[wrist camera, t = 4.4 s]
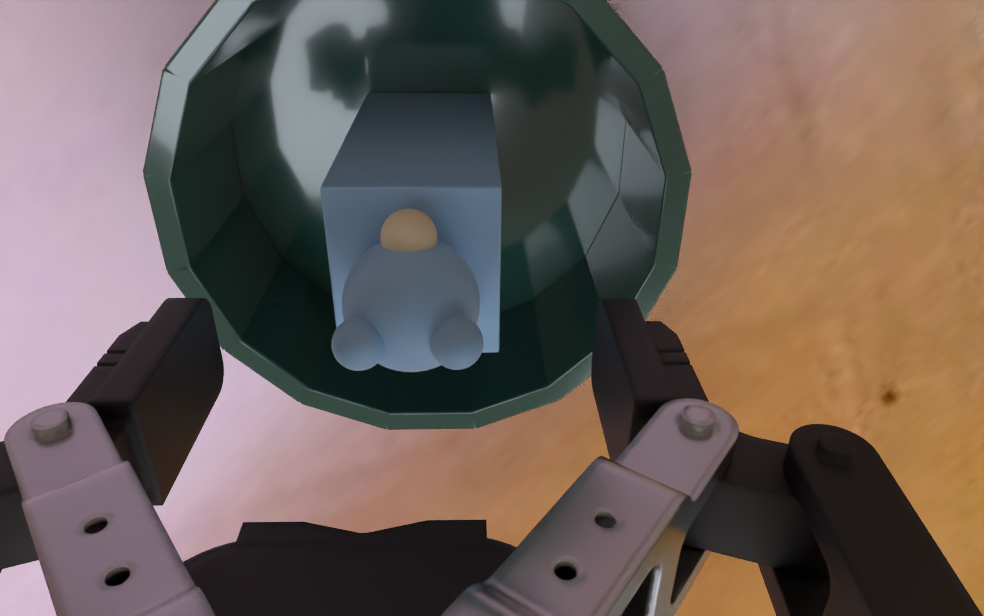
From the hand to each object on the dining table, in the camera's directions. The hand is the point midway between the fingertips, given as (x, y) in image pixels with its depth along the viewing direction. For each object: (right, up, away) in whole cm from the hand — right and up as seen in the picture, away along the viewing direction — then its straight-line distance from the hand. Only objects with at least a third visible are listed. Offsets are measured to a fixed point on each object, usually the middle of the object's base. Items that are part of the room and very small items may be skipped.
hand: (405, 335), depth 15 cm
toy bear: (0, +6, +9) cm, 11 cm away
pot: (0, +6, +10) cm, 11 cm away
